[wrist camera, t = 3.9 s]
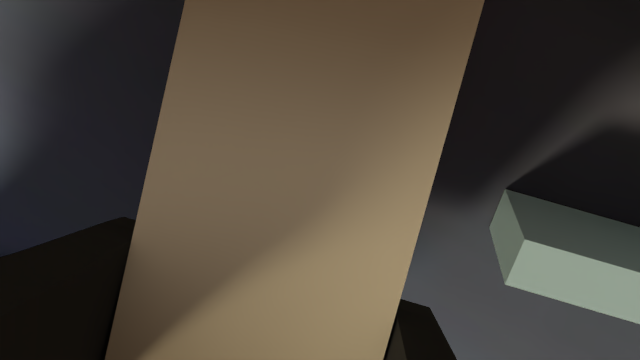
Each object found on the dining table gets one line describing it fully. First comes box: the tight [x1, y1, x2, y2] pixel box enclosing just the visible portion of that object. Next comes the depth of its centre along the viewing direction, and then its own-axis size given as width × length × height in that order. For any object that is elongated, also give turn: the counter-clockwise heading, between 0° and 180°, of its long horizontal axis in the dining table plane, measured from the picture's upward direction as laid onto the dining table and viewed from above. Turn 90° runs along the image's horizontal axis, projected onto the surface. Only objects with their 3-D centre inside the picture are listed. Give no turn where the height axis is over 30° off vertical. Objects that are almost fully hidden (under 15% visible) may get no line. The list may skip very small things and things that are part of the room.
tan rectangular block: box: [105, 0, 485, 360], centre depth 10 cm, size 14×4×5 cm, turn 168°
